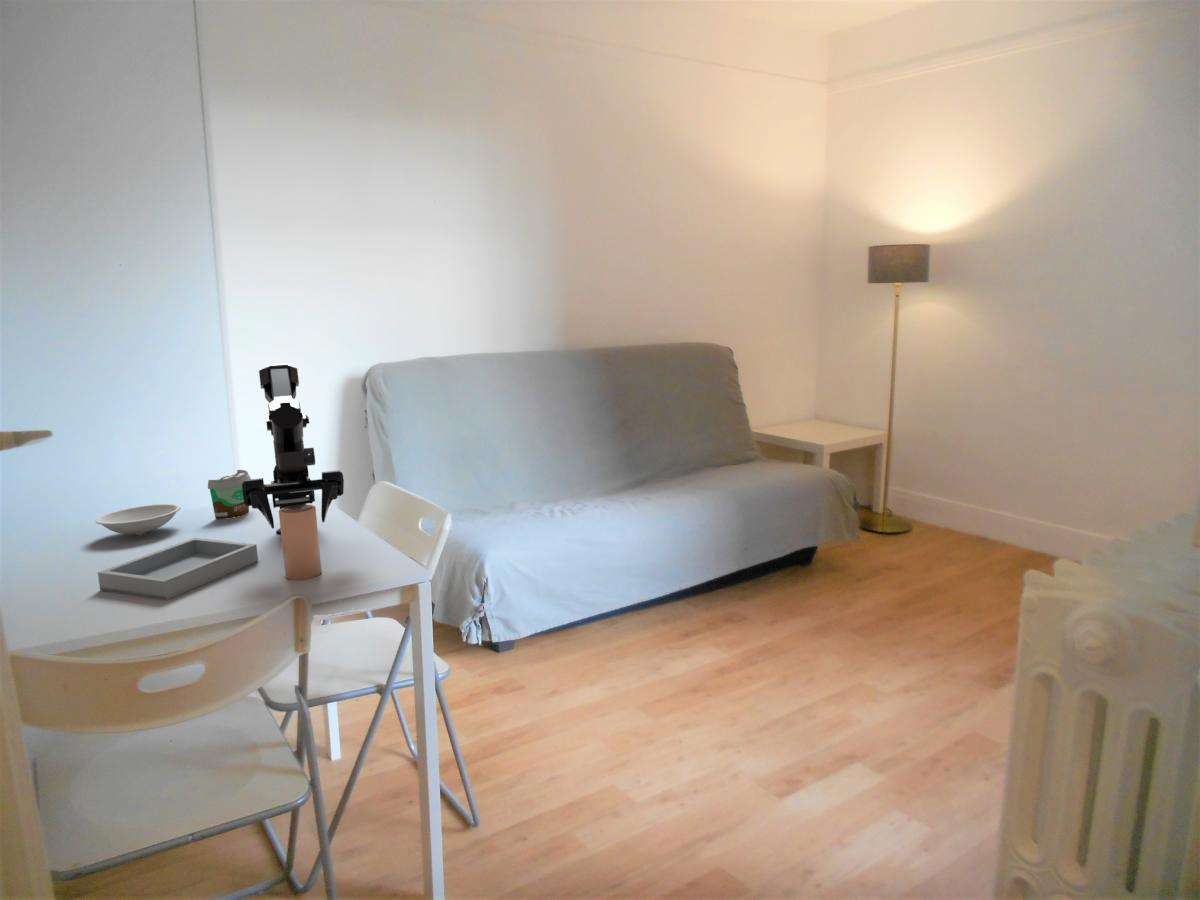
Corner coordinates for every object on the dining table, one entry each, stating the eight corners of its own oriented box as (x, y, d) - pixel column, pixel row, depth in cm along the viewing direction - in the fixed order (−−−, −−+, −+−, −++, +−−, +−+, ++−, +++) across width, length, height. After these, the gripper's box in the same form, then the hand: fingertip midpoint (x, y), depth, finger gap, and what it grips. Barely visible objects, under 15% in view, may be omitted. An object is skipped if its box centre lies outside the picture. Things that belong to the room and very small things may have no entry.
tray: (196, 553, 176) (194, 537, 175) (258, 560, 170) (256, 544, 169) (100, 590, 155) (97, 572, 155) (166, 600, 149) (163, 581, 149)
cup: (293, 568, 165) (287, 504, 162) (326, 568, 164) (320, 503, 162) (279, 580, 158) (272, 513, 156) (313, 579, 158) (307, 513, 155)
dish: (166, 520, 202) (164, 500, 201) (195, 530, 194) (192, 509, 193) (87, 538, 189) (84, 517, 188) (114, 549, 180) (110, 527, 179)
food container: (234, 521, 200) (229, 481, 198) (211, 520, 201) (206, 480, 199) (264, 508, 211) (260, 469, 210) (242, 507, 213) (238, 469, 211)
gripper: (237, 439, 160) (242, 508, 152) (338, 430, 167) (349, 496, 159) (241, 471, 168) (247, 538, 160) (338, 462, 175) (348, 526, 167)
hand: (298, 524), depth 161 cm, fingers open, 9 cm apart
